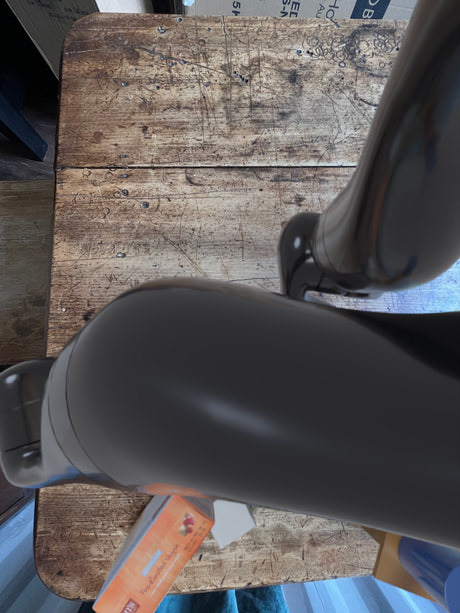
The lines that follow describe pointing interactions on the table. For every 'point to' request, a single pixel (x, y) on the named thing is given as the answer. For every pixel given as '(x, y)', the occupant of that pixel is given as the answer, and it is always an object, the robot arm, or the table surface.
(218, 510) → the product box
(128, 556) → the cracker box
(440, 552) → the blue plastic cylinder
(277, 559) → the table surface
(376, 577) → the stand
